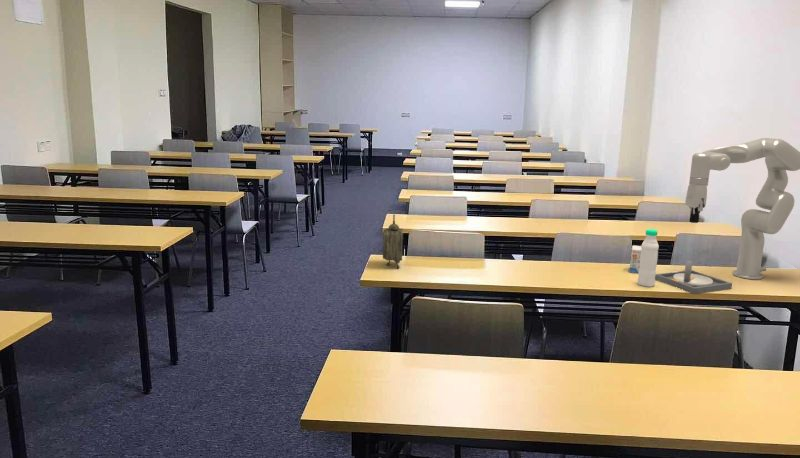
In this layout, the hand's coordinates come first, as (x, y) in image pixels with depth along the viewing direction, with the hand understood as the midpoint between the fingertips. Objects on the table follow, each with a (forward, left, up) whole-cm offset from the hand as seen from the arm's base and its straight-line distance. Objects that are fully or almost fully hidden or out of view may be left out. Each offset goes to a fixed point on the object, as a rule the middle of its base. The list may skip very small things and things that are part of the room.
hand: (693, 222), depth 270 cm
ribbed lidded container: (+118, -66, -27) cm, 138 cm away
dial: (+2, +5, -26) cm, 26 cm away
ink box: (+10, -19, -27) cm, 35 cm away
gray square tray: (+2, +5, -27) cm, 28 cm away
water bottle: (+23, -1, -27) cm, 36 cm away
